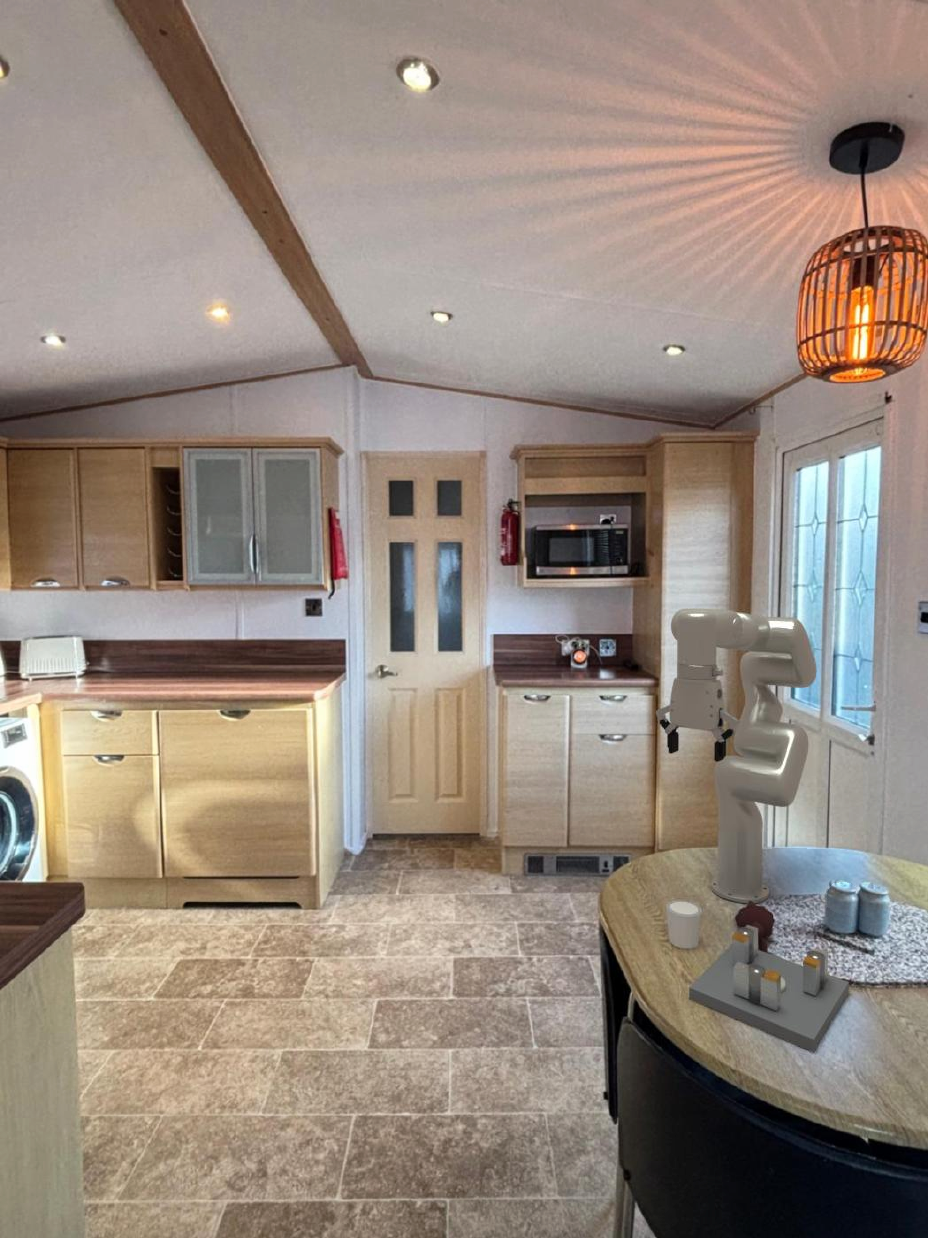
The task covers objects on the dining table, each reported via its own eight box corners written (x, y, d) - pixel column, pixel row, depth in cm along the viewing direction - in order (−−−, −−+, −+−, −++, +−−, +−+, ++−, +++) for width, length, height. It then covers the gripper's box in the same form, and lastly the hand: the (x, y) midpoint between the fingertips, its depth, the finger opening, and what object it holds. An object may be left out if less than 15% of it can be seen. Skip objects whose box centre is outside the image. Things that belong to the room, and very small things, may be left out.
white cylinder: (704, 952, 132) (704, 917, 132) (667, 948, 134) (667, 914, 133) (699, 934, 139) (699, 901, 139) (664, 931, 140) (664, 898, 140)
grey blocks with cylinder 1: (732, 994, 115) (732, 964, 115) (738, 987, 117) (739, 957, 117) (775, 1012, 110) (775, 980, 110) (781, 1004, 112) (781, 973, 112)
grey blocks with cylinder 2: (812, 972, 121) (813, 943, 121) (830, 978, 119) (830, 949, 119) (800, 990, 116) (800, 960, 116) (818, 996, 114) (818, 966, 114)
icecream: (728, 888, 145) (736, 929, 131) (764, 884, 143) (776, 925, 129) (736, 918, 146) (745, 962, 132) (772, 914, 144) (785, 958, 129)
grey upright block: (744, 948, 129) (745, 921, 129) (760, 953, 127) (760, 926, 127) (730, 963, 124) (730, 935, 124) (745, 969, 122) (746, 941, 122)
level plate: (734, 951, 132) (734, 935, 132) (848, 993, 119) (849, 975, 118) (689, 998, 118) (689, 980, 118) (813, 1052, 104) (813, 1031, 104)
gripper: (746, 674, 134) (746, 759, 135) (665, 667, 145) (664, 746, 146) (731, 678, 128) (731, 767, 129) (648, 671, 140) (648, 752, 141)
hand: (695, 756), depth 138 cm, fingers open, 9 cm apart
